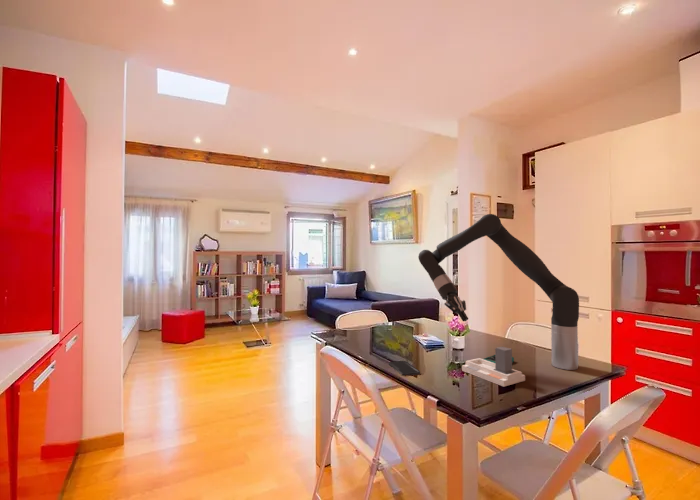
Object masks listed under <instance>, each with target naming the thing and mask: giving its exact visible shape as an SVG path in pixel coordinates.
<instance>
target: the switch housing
mask: <svg viewBox="0 0 700 500" xmlns="http://www.w3.org/2000/svg"><path fill="white" fill-rule="evenodd" d="M494 369H496V364H495V363H493V362H490V361H487V360H484V358H482V357H481V358H480V357H477V358H474V359H473V358H472V359H468V360H465V364H463V365H461V370H462V372H465V373H468V374H469V375H473V376H475V377H478V378H479V379H482V380H485V381H488V382H491V383H494V384H496V385H499V386H501V387H507V386H510V385H514V384H518V383H521V382H525V381H526V375H525V374H523V372H522V371H520V370H517V369H514V368H512V371H514V373H510V374H504V373H501V372H498V371H496V370H494Z"/></svg>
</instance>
